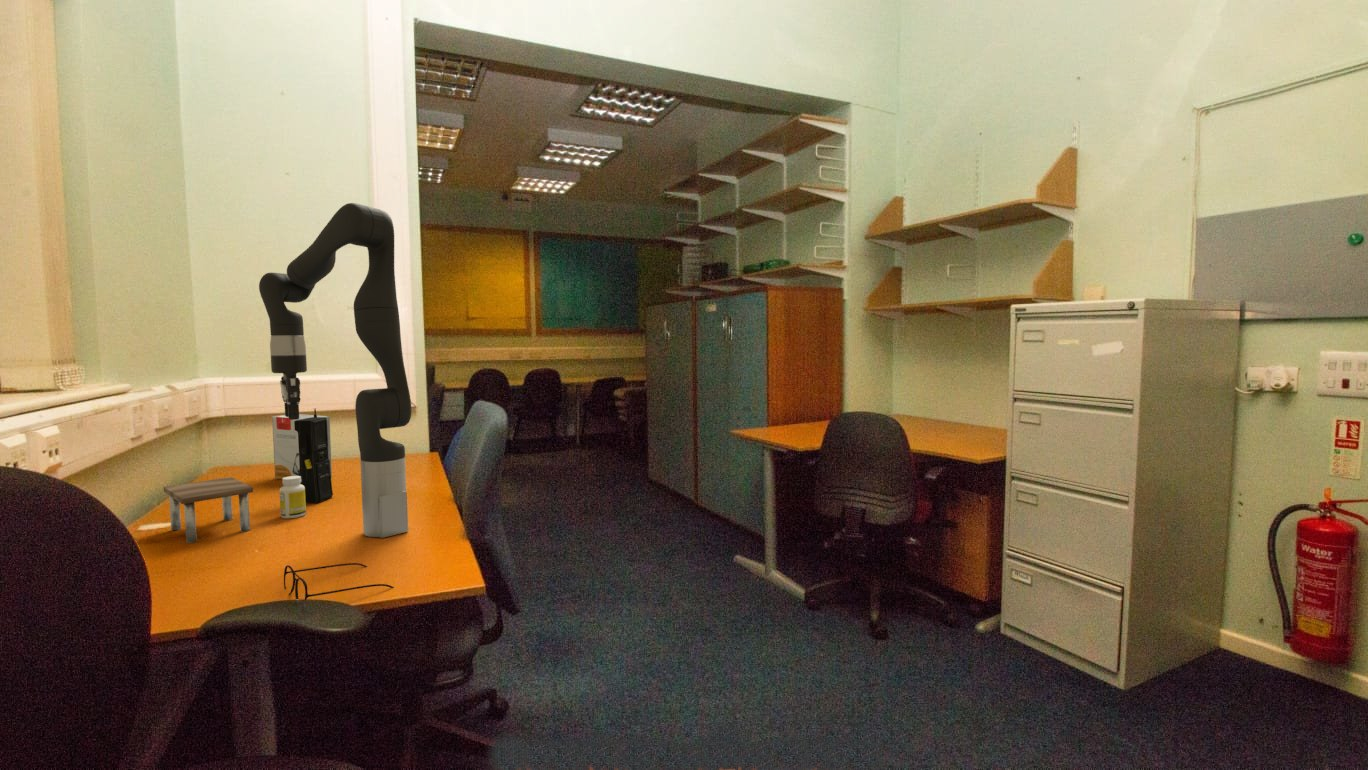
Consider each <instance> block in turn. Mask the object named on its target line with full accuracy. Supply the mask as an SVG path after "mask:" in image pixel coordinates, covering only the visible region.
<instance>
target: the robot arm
mask: <svg viewBox="0 0 1368 770" xmlns="http://www.w3.org/2000/svg"><path fill="white" fill-rule="evenodd" d="M393 223H394V222H393V219H392V217H391V216H390V214H389V213H388V212H386V211H385V210H384V209H383V210H382V209H380V208H378V207H377V208H376V207H373V206H368V205H366V204H365V205H364V204H360V203H356V202H355V203H354V202H349V203H346V204H344V205H342V206H341V207H340V208H339V209H338V210H337V211H336V212H335V213H334V214H333V216H332V217H331V218H330V220H329V221H328V222H327V224H326V225H325V226H324V227H323V228H322V230H321V231H320V232H319V234H318V236H317V237H316V238H315V240H313V242H312V244H310V246H308V248H306V249H305V250H304V251H302V253H300V254H299V255H298V256H296V258H294V259H293V260H292V261H291V262H290V263H288V265H287V268H286V273H282V272H281V273H280V272H267V273H265V274H263V275H262V277H261V278H260V280H259V284H258V290H259V294H260V297H261V299H262V302H263V305H264V308H265V310H266V314H267V316H268V318H269V319H268V320H269V328H270V329H269V330H270V341H269V342H270V343H269V350H270V353H269V354H270V367H271V373H273V374H282V376H281V378H280V379H281V380H280V381H279V384H280V388H281V389H280V390H281V398H282V401H283V402H284V415H285V416H286V417H289V419H290V420H295V419H299V414H300V407H299V404H300V403H301V380H300V378H299V377H297V374H299V373H306V372H307V371H308V366H307V365H308V364H307V362H308V361H307V350H306V345H307V344H306V341H305V335H304V331H305V330H304V319H303V318H304V317H303V316H302V315H301V314H300V313H299V312H295V311H291V310H290V309H288V307H287V306H286V303H294V304H296V303H301V302H304V301H305V300H307V299H308V298H309V297H310V296H311V293H312V292H313V290H314V289H315V286H316V285H317V283H319V282H320V281H322V280H323V279H324V278H325V277H326V276H328V275H329V274H330V273H331V272H332V271H333V269H334V267H335V263H336V259H337V258H336V253H337V251H339V250H340V249H341V248H343V247H345V246H348V245H354V246H357V247H365V248H366V249H367V255H368V270H367V274H366V276H365V278H364V281H363V282H362V284H361V286H360V288H359V289H358V292H357V293H356V295H355V298H354V301H353V314H354V315H353V316H354V325H355V331H356V334H357V336H358V338H359V340H360V341H361V342H362V344H363V345H364V347H365V348H366V349H367V351H368V352H369V353H370V354H371V355H372V356H373V358H374V359H375V360H376V362H377V363H378V365H379V366H380V367H381V368H380V369H381V370H382V372H383V375H384V378H385V382H386V383H385V384H386V387H385V388H384V387H383V388H371V389H369V388H368V389H363V390H360V391H359V392H358V394H357V395H356V399H355V419H356V420H355V421H356V428H357V429H356V430H357V442H358V449H359V454H360V455H359V456H360V478H361V479H360V480H361V481H360V483H361V502H362V503H361V505H362V526H363V528H362V529H363V535H364V536H366V537H369V538H370V537H371V538H380V539H384V538H387V537H392V536H395V535H399V534H403V533H408V532H409V519H408V517H409V516H408V513H409V512H408V492H407V478H406V477H407V475H406V472H407V471H406V448H405V445H404V444H403V443H401V442H395V441H391V440H388V439H385V438H383V437H382V434H381V430H382V429H383V430H384V429H394V428H401V427H405V426H407V425H408V424H409V423H410V421H411V418H412V400H411V395H410V390H409V384H408V380H407V379H408V378H407V375H406V374H407V373H406V368H405V365H404V355H403V347H402V337H401V324H400V323H401V322H400V312H399V305H398V298H397V289H396V288H397V286H396V285H397V284H396V276H395V273H396V272H395V230H394V229H395V227H394V224H393Z"/></svg>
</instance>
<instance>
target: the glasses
mask: <svg viewBox="0 0 1368 770" xmlns="http://www.w3.org/2000/svg"><path fill="white" fill-rule="evenodd" d="M344 566H361V567H364V568H367V567H368V566H367V565H365V564H363V563H359V562H358V563H356V562H354V563H353V562H350V563H349V562H347V563H340V564H339V563H338V564H332V565H324V566H318V567H311V568H303V569H299V570H298V569H296V570H294V569H293V568H292V567H293V566H291V565H290V564H289V565H285V568H284V570H283V587H284V590H285V591H286V590H287V587H286V575H287V574H292V586H291V589H290V592H289V593H288V595H292V594H293V593H294V595H295V596H294V597H295V600H296V599H299V586H298V585H299V581H301V582H302V584H303V586H304V587H303V588H304V601H305V600H306V601H307V599H308V598H310V597H317V596H322V595H323V596H325V595H329V594H335V593H340V592H341V593H342V592H347V591H352V590H358V589H359V590H360V589H364V588H372V587H388V588H392V589H394V588H395V587H394V586H392V585H391V584H386V583H385V584H384V583H378V584H377V583H375V584H368V585H367V584H366V585H360V586H355V587H348V588H343V589H341V588H340V589H336V590H330V591H323V592H320V593H312V594H308V585H307V582H306V581H305V580H304V578H302V577H301V576H299V575H298V574H297V573H300V572H308V571H314V570H319V569H327V568H335V567H344ZM288 569H290V570H289V571H287V570H288ZM296 577H297V578H296ZM299 600H300V599H299Z"/></svg>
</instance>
